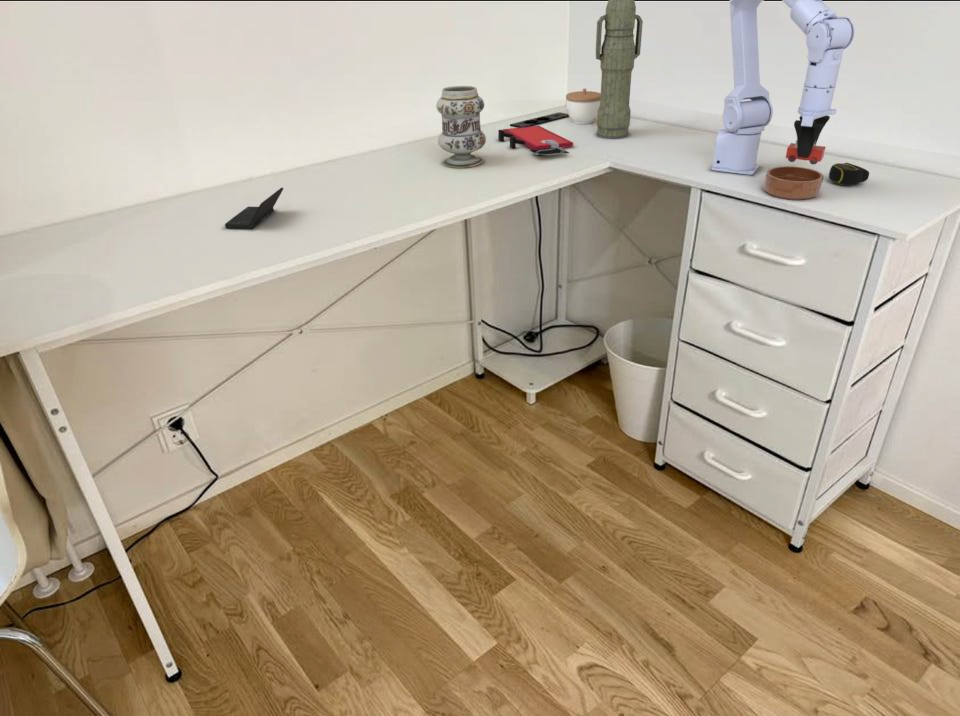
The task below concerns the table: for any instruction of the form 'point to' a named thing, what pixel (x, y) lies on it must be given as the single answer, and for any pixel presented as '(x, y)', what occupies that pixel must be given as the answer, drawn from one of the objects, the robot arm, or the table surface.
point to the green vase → (617, 66)
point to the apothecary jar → (461, 125)
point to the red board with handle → (536, 140)
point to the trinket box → (583, 106)
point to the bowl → (793, 182)
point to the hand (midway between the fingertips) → (804, 154)
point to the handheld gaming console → (254, 213)
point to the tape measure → (847, 174)
